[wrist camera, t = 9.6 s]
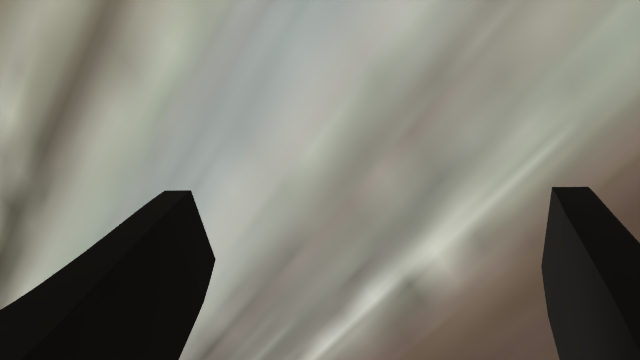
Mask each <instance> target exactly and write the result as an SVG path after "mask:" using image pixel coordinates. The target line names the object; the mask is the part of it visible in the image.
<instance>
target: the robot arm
mask: <svg viewBox="0 0 640 360" xmlns="http://www.w3.org/2000/svg"><path fill="white" fill-rule="evenodd" d="M214 263H215V257H214V254H213V251H212V248H211V246H210V243H209V240H208V237H207V234H206V232H205V229H204V226H203V223H202V220H201V218H200V215H199V212H198V209H197V206H196V203H195V201H194V198H193V195H192V192H191V191H164V192H162V193H161V194H159V195H158V196H157V197H155V198H154V199H152V200H151V201H150V202H148V203H147V204H146V205H144V206H143V207H142V208H140V209H139V210H138V211H137V212H135V213H134V214H133V215H131V216H130V217H129V218H128V219H126V220H125V221H124V222H123V223H121V224H120V225H119V226H117V227H116V228H115V229H114V230H112V231H111V232H110V233H108V234H107V235H106V236H105V237H103V238H102V239H101V240H99V241H98V242H97V243H96V244H94V245H93V246H92V247H90V248H89V249H88V250H87V251H85V252H84V253H83V254H81V255H80V256H79V257H77V258H76V259H74V260H73V261H72V262H70V263H69V264H68V265H66V266H65V267H63V268H62V269H61V270H59V271H58V272H56V273H55V274H54V275H52V276H51V277H50V278H48V279H47V280H45V281H44V282H43V283H41V284H40V285H38V286H37V287H35V288H34V289H32V290H31V291H30V292H28V293H26V294H25V295H23V296H22V297H20V298H19V299H17V300H16V301H14V302H13V303H11V304H9V305H8V306H6V307H5V308H3V309H1V310H0V360H179V357H180V355H181V353H182V351H183V348H184V346H185V344H186V342H187V339H188V337H189V335H190V333H191V330H192V328H193V326H194V323H195V321H196V319H197V316H198V314H199V312H200V309H201V307H202V304H203V302H204V299H205V296H206V292H207V289H208V286H209V282H210V279H211V275H212V271H213V267H214ZM541 267H542V275H543V283H544V290H545V297H546V304H547V311H548V317H549V321H550V325H551V329H552V332H553V336H554V340H555V344H556V347H557V351H558V355H559V359H560V360H640V243H639V242H638V241H637V240H636V239H635V238H634V236H633V235H632V234H631V233H630V232H629V231H628V230H627V229H626V228H625V227H624V226H623V224H622V223H621V222H620V221H619V220H618V219H617V218H616V217H615V216H614V214H613V213H612V212H611V211H610V210H609V209H608V208H607V207H606V205H605V204H604V203H603V202H602V201H601V200H600V199H599V198H598V196H597V195H596V194H595V193H594V192H593V191H592V190H591V189H590V188H589V187H552V192H551V199H550V207H549V214H548V222H547V229H546V237H545V244H544V251H543V259H542V266H541Z"/></svg>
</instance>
